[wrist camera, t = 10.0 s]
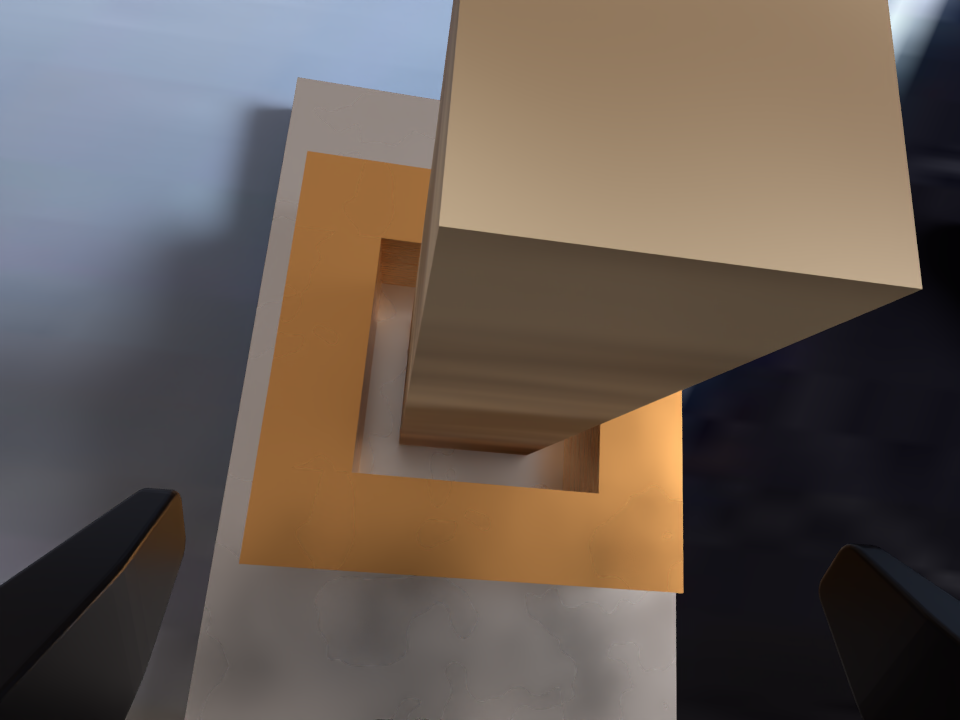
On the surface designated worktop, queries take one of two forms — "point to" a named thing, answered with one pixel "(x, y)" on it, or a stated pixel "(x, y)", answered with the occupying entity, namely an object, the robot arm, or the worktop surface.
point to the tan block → (646, 205)
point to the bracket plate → (393, 612)
